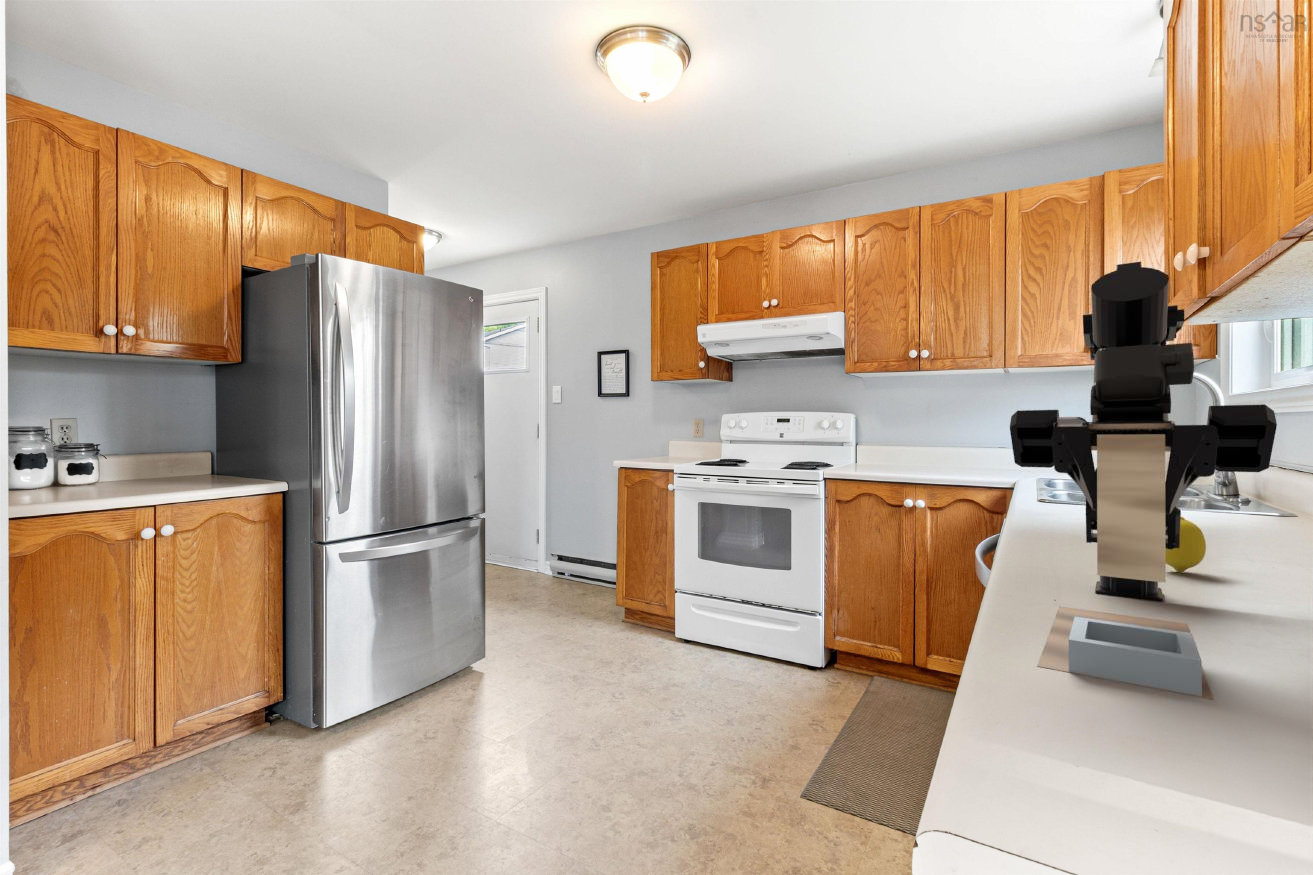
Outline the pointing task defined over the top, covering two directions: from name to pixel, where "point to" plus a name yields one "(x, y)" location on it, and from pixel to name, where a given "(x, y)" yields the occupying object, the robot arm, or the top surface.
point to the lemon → (1187, 547)
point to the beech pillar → (1131, 506)
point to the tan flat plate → (1058, 638)
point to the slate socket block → (1136, 655)
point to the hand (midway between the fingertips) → (1130, 508)
